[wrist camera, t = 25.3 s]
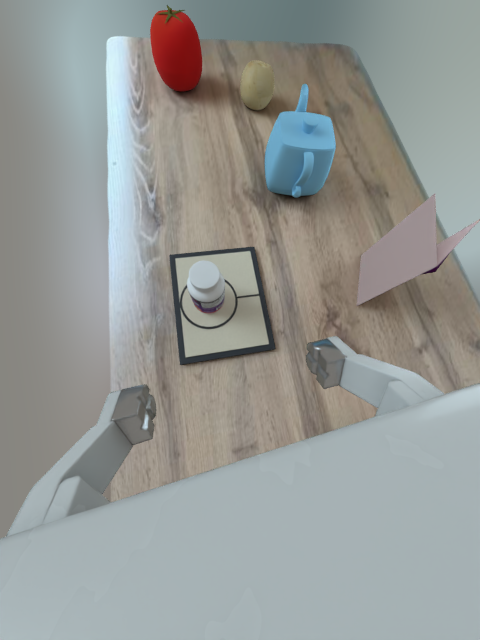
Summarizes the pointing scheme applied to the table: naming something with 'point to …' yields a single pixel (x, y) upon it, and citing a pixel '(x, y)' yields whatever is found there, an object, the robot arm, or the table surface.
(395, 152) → the table surface
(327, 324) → the table surface
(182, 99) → the table surface
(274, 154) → the teapot
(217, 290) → the pill bottle
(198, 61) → the tomato
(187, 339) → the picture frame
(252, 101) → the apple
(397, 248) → the greeting card
